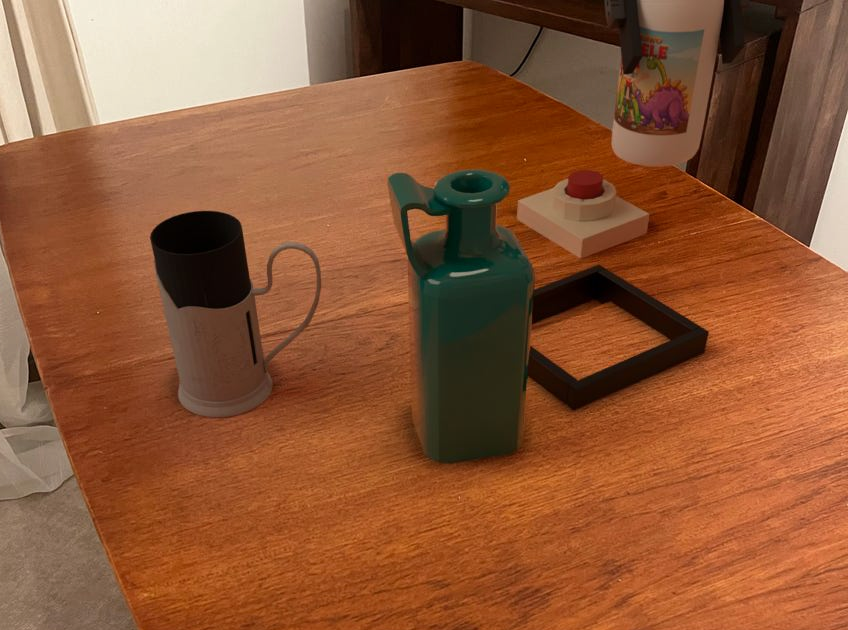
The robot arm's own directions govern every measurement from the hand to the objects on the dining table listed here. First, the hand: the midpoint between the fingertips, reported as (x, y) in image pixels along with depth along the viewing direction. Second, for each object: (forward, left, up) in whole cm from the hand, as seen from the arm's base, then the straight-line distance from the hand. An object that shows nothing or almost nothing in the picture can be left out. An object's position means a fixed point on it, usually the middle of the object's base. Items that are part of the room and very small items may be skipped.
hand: (683, 59), depth 82 cm
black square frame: (-3, +9, -22) cm, 24 cm away
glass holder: (+10, +37, -22) cm, 45 cm away
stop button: (+16, -6, -18) cm, 25 cm away
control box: (+16, -6, -22) cm, 28 cm away
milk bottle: (+3, -1, -9) cm, 9 cm away
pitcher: (-7, +26, -22) cm, 35 cm away
